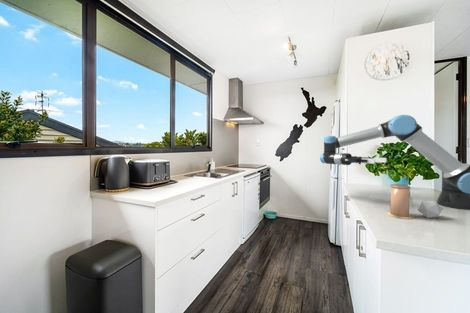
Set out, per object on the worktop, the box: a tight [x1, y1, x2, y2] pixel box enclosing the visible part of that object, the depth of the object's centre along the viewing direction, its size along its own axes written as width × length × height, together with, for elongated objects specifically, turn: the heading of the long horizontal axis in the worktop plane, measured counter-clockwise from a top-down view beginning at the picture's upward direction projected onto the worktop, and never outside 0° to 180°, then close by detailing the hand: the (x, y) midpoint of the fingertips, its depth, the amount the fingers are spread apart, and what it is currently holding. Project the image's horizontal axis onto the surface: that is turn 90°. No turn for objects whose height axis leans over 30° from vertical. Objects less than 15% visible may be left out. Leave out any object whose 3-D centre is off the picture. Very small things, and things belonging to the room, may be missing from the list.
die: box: [417, 200, 443, 219], centre depth 97 cm, size 8×9×10 cm
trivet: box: [385, 210, 415, 220], centre depth 100 cm, size 11×11×1 cm
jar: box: [389, 183, 411, 217], centre depth 100 cm, size 8×8×15 cm
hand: (380, 160), depth 109 cm, fingers open, 13 cm apart
